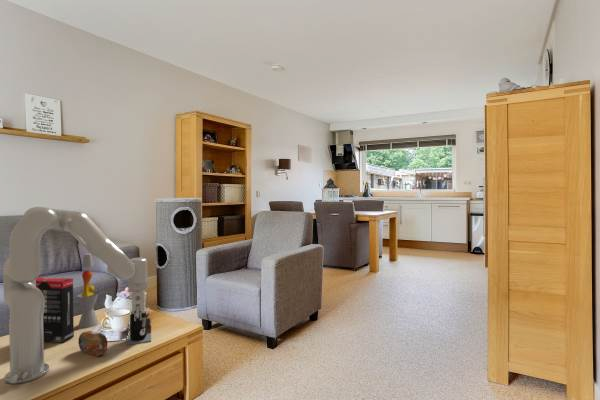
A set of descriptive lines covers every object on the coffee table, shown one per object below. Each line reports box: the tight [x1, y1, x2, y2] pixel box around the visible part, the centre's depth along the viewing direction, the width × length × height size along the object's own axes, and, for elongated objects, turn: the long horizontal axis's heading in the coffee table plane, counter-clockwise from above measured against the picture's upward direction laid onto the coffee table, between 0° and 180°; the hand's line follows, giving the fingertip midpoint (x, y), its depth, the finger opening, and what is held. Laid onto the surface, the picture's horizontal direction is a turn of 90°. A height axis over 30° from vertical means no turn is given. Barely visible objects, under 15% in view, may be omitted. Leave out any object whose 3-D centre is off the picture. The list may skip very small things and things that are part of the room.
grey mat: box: [125, 332, 152, 346], centre depth 153 cm, size 9×10×1 cm
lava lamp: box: [76, 253, 100, 329], centre depth 170 cm, size 9×9×35 cm
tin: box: [77, 330, 108, 357], centre depth 140 cm, size 15×3×8 cm, turn 65°
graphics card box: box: [36, 276, 75, 344], centre depth 152 cm, size 17×7×27 cm, turn 84°
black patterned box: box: [126, 317, 152, 334], centre depth 162 cm, size 10×10×4 cm
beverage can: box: [129, 310, 148, 341], centre depth 152 cm, size 7×7×12 cm
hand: (138, 325), depth 152 cm, fingers open, 6 cm apart
